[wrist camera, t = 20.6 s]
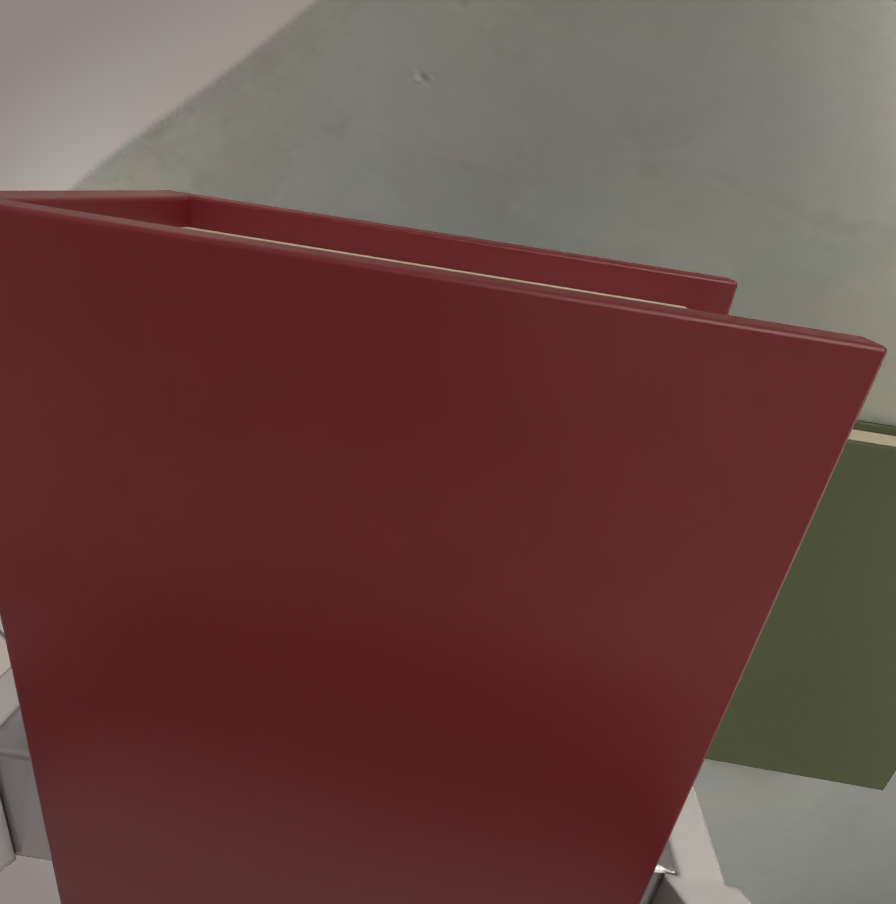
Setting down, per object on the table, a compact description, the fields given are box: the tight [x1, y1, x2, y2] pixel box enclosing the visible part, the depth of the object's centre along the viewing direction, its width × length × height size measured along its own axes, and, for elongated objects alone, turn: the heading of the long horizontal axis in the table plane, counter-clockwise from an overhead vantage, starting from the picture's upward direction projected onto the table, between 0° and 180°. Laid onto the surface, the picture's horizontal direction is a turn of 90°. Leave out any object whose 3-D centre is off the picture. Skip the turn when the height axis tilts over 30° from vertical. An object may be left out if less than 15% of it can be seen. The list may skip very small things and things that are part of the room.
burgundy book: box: [0, 190, 887, 904], centre depth 8 cm, size 13×6×3 cm, turn 172°
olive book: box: [705, 420, 896, 790], centre depth 26 cm, size 16×12×3 cm
